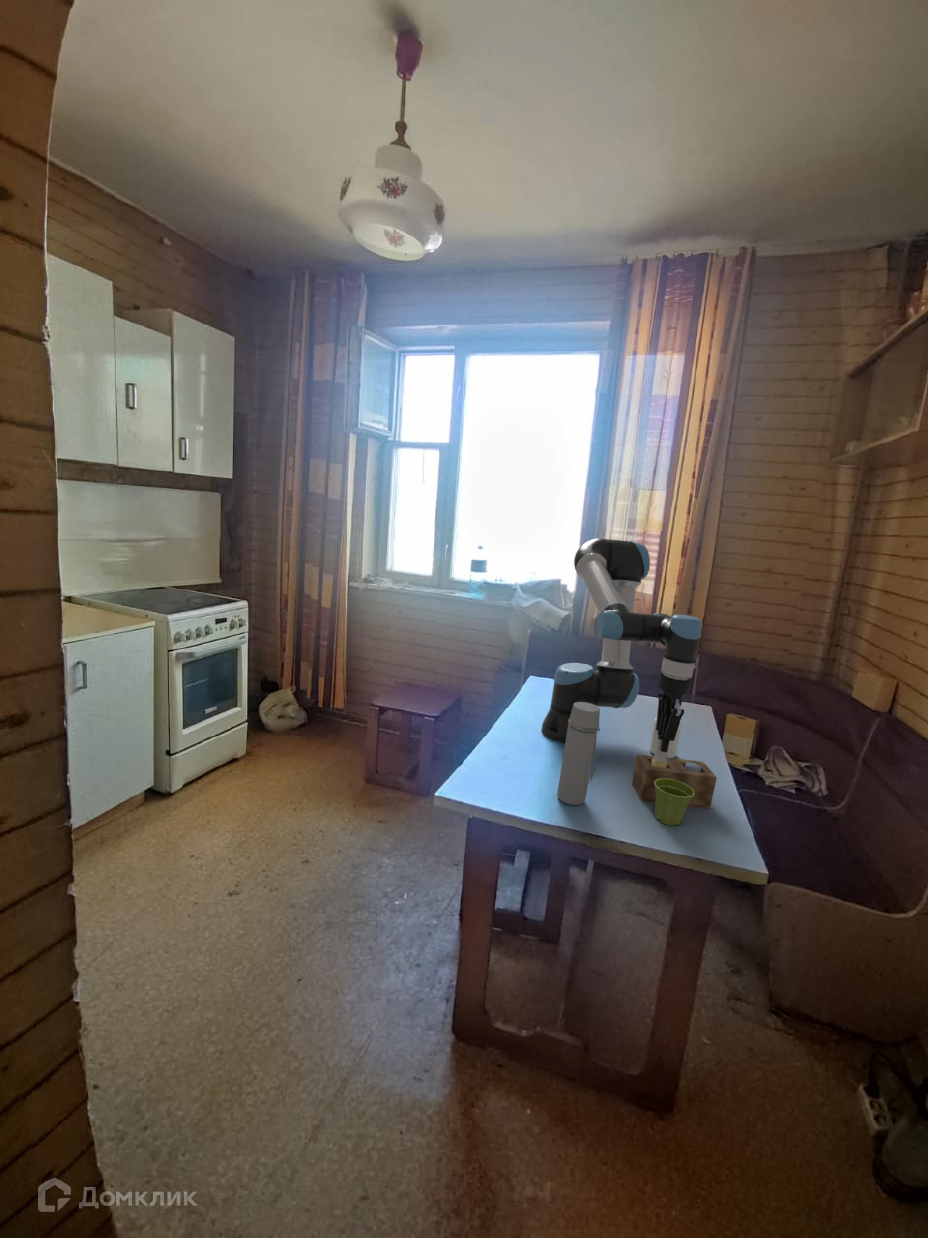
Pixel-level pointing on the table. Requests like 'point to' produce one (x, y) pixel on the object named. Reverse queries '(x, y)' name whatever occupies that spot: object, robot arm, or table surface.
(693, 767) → the blue peg
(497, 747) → the table surface
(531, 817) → the table surface
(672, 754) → the beverage can
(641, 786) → the walnut block
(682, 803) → the plant pot
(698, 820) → the table surface
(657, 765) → the ochre peg
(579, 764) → the water bottle
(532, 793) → the table surface
